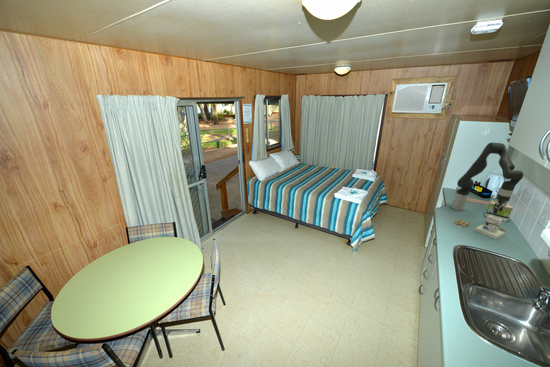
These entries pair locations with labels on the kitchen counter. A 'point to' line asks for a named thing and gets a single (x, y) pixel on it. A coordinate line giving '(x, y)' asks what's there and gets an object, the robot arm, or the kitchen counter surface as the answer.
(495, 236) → the dock
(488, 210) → the tea box
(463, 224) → the pallet
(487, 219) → the ink box
